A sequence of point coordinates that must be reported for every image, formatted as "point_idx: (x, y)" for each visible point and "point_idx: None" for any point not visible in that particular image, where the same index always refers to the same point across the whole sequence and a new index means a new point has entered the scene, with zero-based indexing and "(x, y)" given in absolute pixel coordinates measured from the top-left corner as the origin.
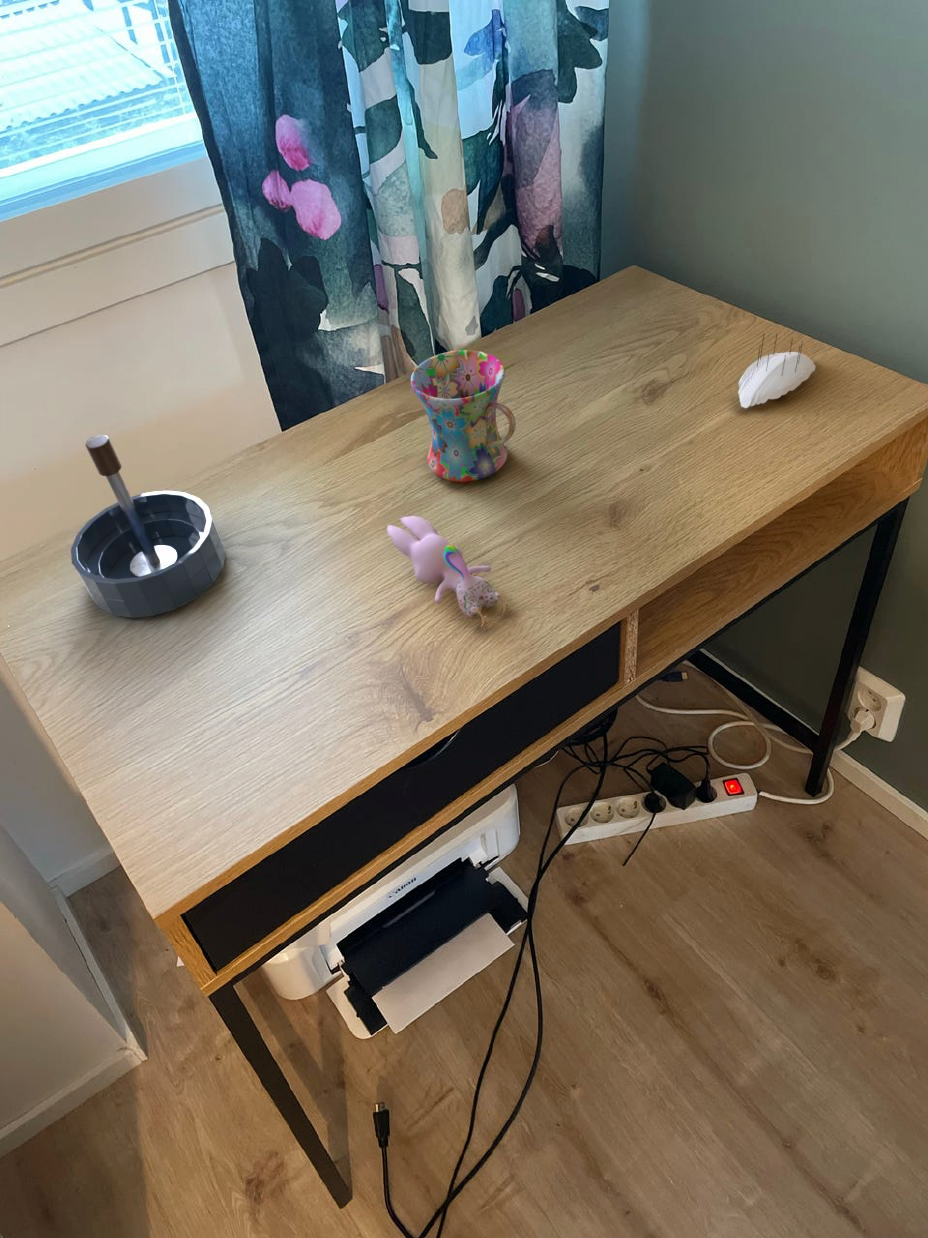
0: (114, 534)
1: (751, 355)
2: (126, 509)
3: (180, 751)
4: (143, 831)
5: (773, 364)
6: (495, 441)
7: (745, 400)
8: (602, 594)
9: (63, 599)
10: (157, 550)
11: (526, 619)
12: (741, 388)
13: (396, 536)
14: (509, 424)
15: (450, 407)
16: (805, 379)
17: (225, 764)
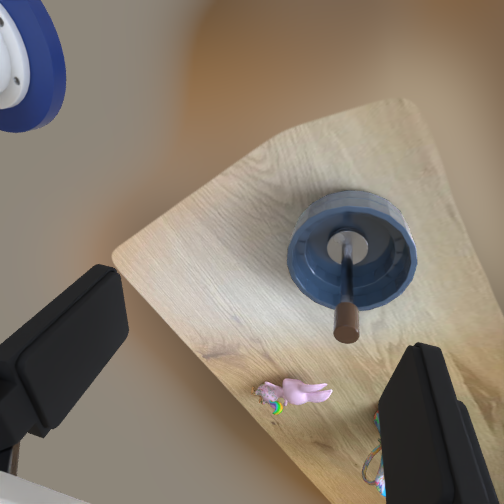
0: (386, 222)
1: None
2: (340, 283)
3: (185, 260)
4: (139, 246)
5: None
6: (378, 450)
7: None
8: (269, 423)
9: (338, 164)
10: (360, 250)
11: (258, 399)
12: None
13: (308, 388)
14: (362, 473)
15: (379, 470)
16: None
17: (178, 281)
